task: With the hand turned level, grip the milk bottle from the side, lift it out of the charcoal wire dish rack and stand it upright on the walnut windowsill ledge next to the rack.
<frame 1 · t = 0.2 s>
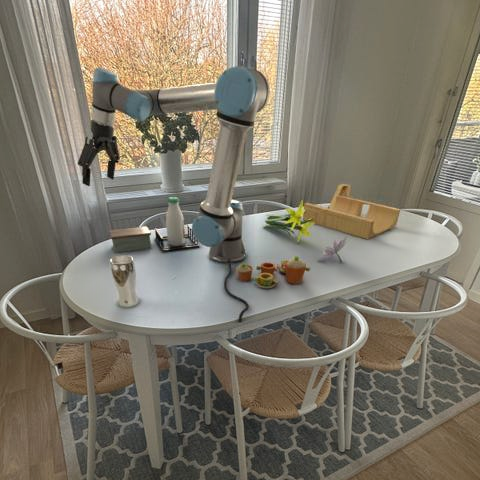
hand: (98, 181, 133), 28 cm above the table, tool tilted 20°, fingers open, 13 cm apart
windowsill ledge: (132, 247, 150), on the table
toy tea set: (271, 279, 128), on the table
daffodil flowers: (283, 236, 168), on the table
dish rack: (176, 243, 156), on the table
water lily: (331, 259, 145), on the table
skate ramp: (351, 222, 188), on the table
beer glass: (129, 303, 111), on the table
milk bottle: (176, 243, 156), resting in dish rack
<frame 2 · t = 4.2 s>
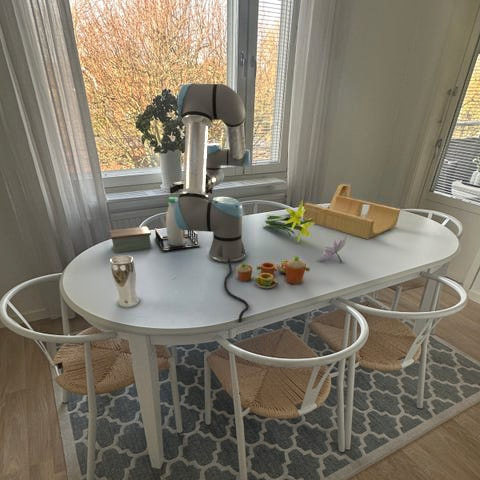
hand: (184, 192, 152), 20 cm above the table, tool horizontal, fingers open, 13 cm apart
nothing on the table moved.
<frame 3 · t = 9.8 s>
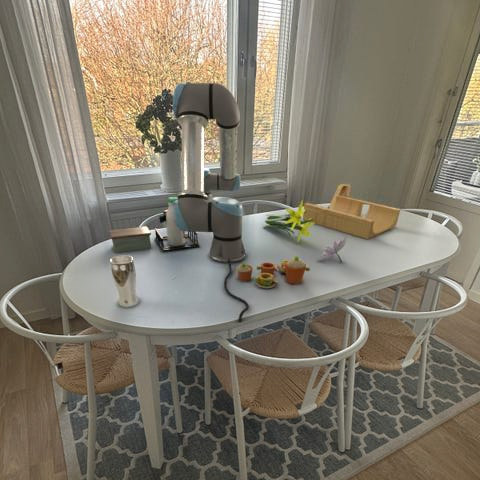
hand: (168, 221, 146), 11 cm above the table, tool horizontal, fingers closed on milk bottle, 7 cm apart
milk bottle: (176, 243, 156), resting in dish rack, touching gripper
everything else where it was.
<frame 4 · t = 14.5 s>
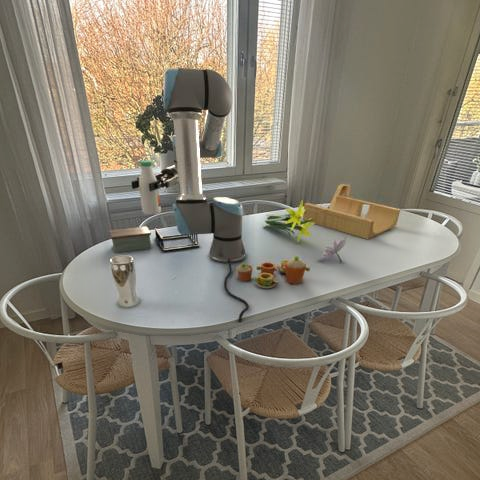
hand: (141, 186, 135), 26 cm above the table, tool horizontal, fingers closed on milk bottle, 7 cm apart
milk bottle: (151, 212, 146), point 14 cm above the table, touching gripper
everything else where it was.
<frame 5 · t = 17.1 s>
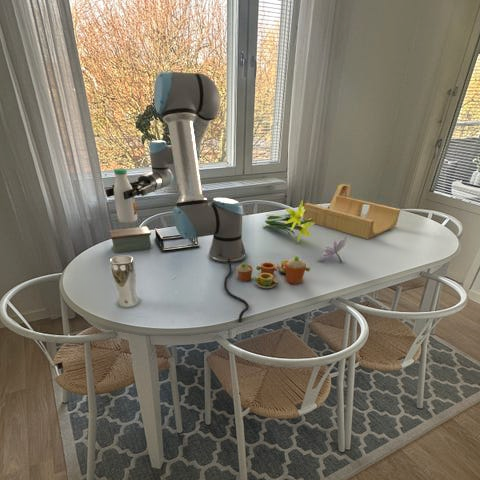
hand: (115, 194, 134), 23 cm above the table, tool horizontal, fingers closed on milk bottle, 7 cm apart
milk bottle: (128, 220, 144), point 12 cm above the table, touching gripper
everything else where it was.
when the fingers open (19 cm above the table, at t = 19.2 s): milk bottle stays where it is, resting on windowsill ledge.
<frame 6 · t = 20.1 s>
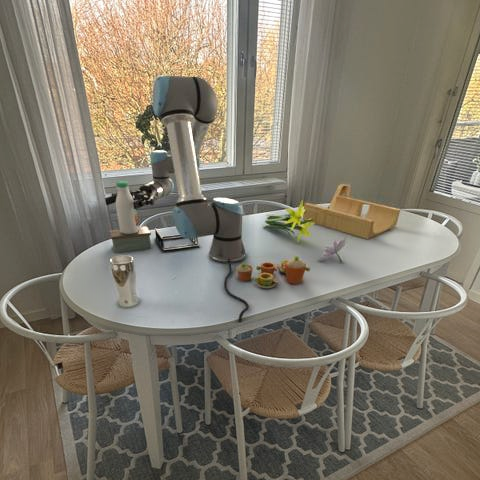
hand: (120, 203, 137), 20 cm above the table, tool horizontal, fingers open, 13 cm apart
milk bottle: (129, 231, 146), point 7 cm above the table, touching windowsill ledge
everything else where it was.
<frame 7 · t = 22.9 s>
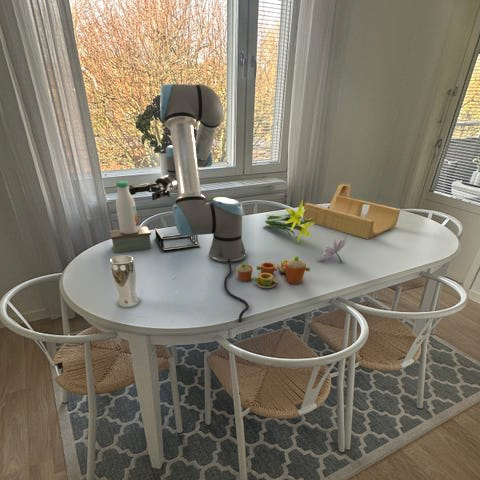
hand: (139, 195, 147), 20 cm above the table, tool horizontal, fingers open, 13 cm apart
nothing on the table moved.
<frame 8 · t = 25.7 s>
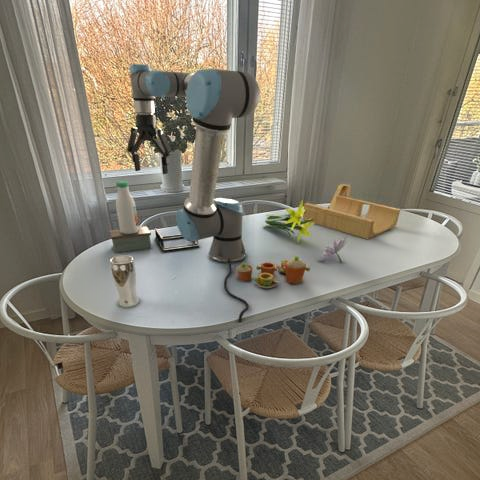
hand: (151, 172, 146), 29 cm above the table, tool pointing down, fingers open, 13 cm apart
nothing on the table moved.
at the end: milk bottle inside the target area on the windowsill ledge (0.1 cm from its centre), point 7.0 cm above the windowsill ledge's base; milk bottle tilted 0°; the gripper is holding nothing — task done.
